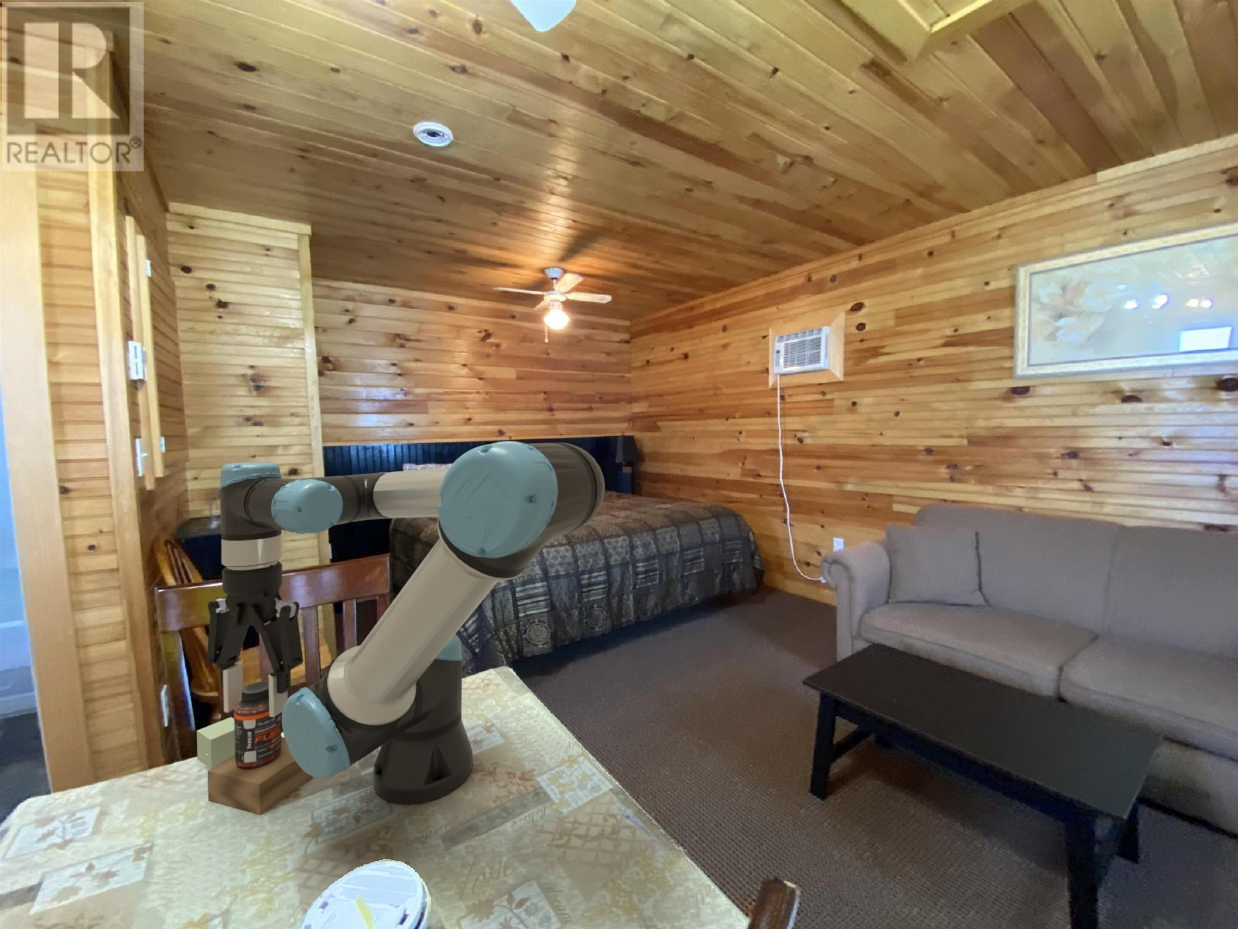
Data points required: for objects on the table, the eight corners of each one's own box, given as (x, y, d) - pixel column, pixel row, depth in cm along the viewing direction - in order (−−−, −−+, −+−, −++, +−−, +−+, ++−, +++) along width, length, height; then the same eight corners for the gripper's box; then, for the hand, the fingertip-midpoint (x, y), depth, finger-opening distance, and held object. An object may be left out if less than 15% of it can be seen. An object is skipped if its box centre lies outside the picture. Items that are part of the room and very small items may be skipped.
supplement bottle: (258, 772, 77) (255, 698, 76) (225, 767, 78) (222, 694, 77) (291, 749, 83) (289, 679, 82) (260, 744, 84) (257, 676, 83)
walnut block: (317, 774, 84) (317, 745, 84) (260, 818, 75) (259, 784, 74) (270, 763, 87) (269, 734, 87) (208, 803, 77) (207, 770, 77)
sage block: (245, 753, 89) (245, 725, 89) (211, 769, 85) (210, 740, 84) (231, 744, 92) (231, 717, 91) (197, 759, 87) (196, 730, 87)
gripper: (329, 561, 81) (331, 703, 83) (217, 555, 84) (221, 693, 85) (293, 573, 74) (296, 729, 75) (171, 566, 77) (176, 717, 78)
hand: (256, 709), depth 80 cm, fingers open, 7 cm apart
